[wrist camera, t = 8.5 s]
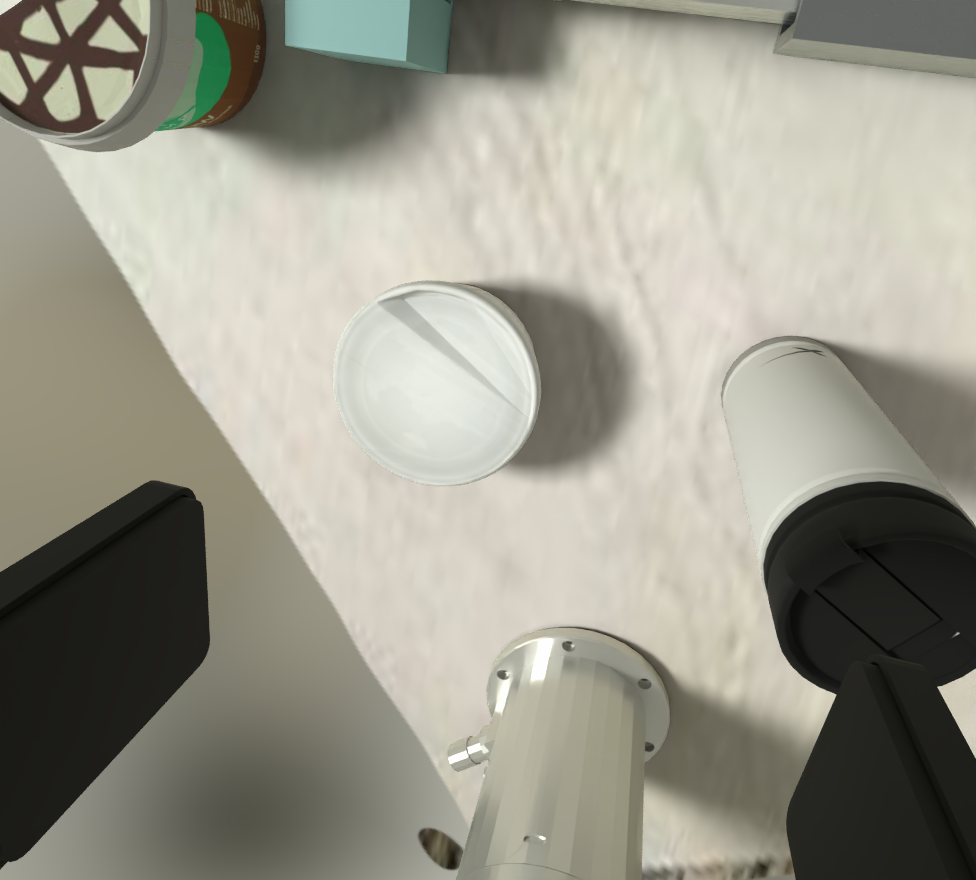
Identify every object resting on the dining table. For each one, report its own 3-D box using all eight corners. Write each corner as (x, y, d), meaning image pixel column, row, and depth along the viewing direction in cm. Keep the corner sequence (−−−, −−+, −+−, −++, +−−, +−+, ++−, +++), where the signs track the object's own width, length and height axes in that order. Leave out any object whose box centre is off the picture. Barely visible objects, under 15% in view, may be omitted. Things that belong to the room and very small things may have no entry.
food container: (145, 178, 40) (-5, 188, 31) (96, 64, 38) (-80, 39, 29) (325, 108, 36) (213, 97, 27) (281, -23, 34) (144, -83, 25)
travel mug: (784, 305, 34) (916, 482, 16) (875, 390, 35) (1098, 651, 17) (691, 389, 37) (718, 618, 19) (777, 467, 38) (881, 760, 20)
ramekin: (564, 278, 36) (550, 298, 32) (542, 463, 41) (526, 504, 36) (369, 255, 38) (328, 270, 34) (369, 433, 43) (333, 469, 38)
